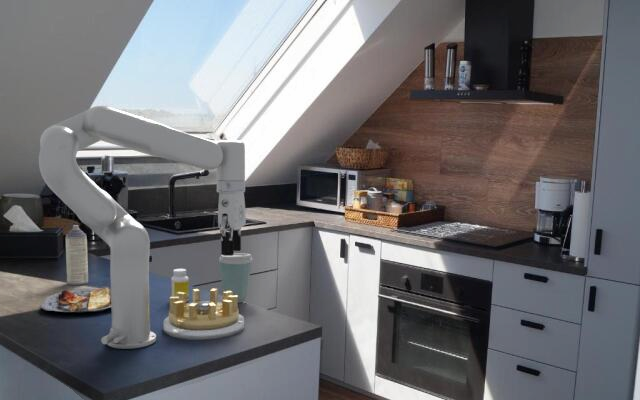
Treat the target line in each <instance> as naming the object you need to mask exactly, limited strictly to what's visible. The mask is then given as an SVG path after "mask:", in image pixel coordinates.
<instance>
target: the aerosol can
mask: <svg viewBox="0 0 640 400" xmlns="http://www.w3.org/2000/svg"><path fill="white" fill-rule="evenodd" d="M65 261H66V265H65V266H66V284H67V285H68V286H74V287H75V286H85V285H88V283H89V270H88V269H89V267H88V265H89V263H88V239H87V233H85V232H84V231H83V230H81V228H79V225H78V224H76V225H72V229H70V230H69V231H68V233H66V234H65Z"/></svg>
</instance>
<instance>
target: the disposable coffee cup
mask: <svg viewBox="0 0 640 400" xmlns="http://www.w3.org/2000/svg"><path fill="white" fill-rule="evenodd" d="M218 261H219V269H220V276H221V286H222V293H223V292H226V291H232V292H233V296H236V295H238V304H240V303H243V302H245V301H246V299H247V295H248V294H247V293H248V288H249V283H250V282H249V280H250V275H251V269H252V264H253V262H254V260H253V257H252V254H251V253H245V252H244V253H242V252H240V253H239V252H235V253H234V254H233V255H232V256H228V255H222V254H221V255H220V257H218Z"/></svg>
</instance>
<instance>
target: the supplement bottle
mask: <svg viewBox="0 0 640 400" xmlns="http://www.w3.org/2000/svg"><path fill="white" fill-rule="evenodd" d="M172 272H173V276H172V277H171V279H170V281H171V282H170V284H171V287H170V288H171V293H170V294H171V295H170V297H176V293H178V292H184V293H186V302H188V301H189V300H190V293H189V292H190V290H189V289H190V288H189V287H190V283H189V282H190V281H189V279H190V278H189V277H188V276H187V269H185V268H176V269H173V271H172Z"/></svg>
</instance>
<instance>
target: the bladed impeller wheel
mask: <svg viewBox="0 0 640 400" xmlns="http://www.w3.org/2000/svg"><path fill="white" fill-rule="evenodd" d="M200 291H201V290H199V289H198V288H194V289H192V302H189V303H187V301H186V293H184V292H178V293H176V297H171V296H170V297H169V311H168V316H169V323H170V324H171V325H173V326H175V327H178V328H182V329H189V330H211V329H218V328H223V327H227V326H230V325H233V324H234V323H236V322H237V321H238V320H239V314H240V311H239V307H238V304H239V303H238V295H236V296H233V292H232V291H226V292H223V291H222V301H221V302H220V301H218V300H219V299H218V298H219V297H218V288H211V289H210V290H209V300H201V292H200Z"/></svg>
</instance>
